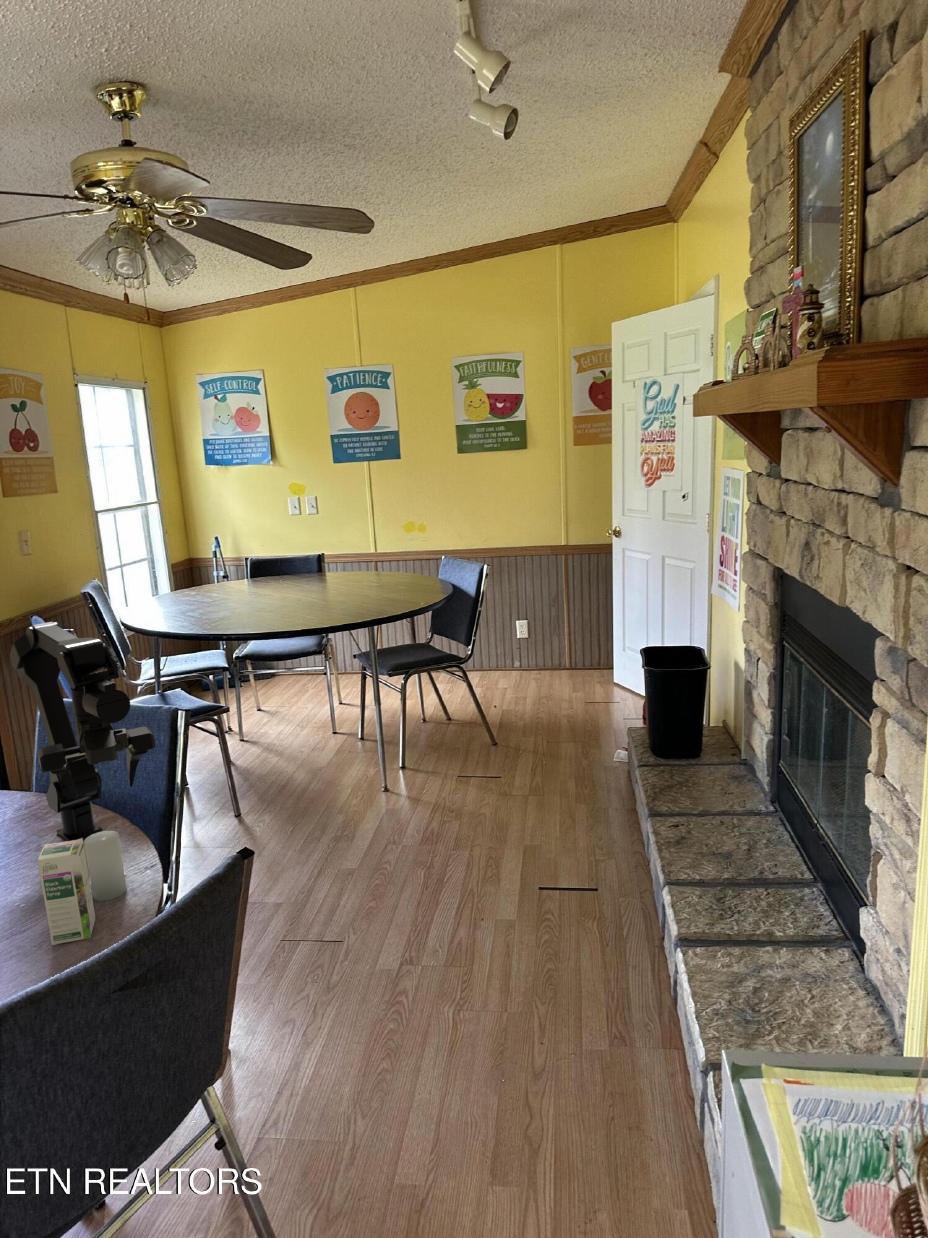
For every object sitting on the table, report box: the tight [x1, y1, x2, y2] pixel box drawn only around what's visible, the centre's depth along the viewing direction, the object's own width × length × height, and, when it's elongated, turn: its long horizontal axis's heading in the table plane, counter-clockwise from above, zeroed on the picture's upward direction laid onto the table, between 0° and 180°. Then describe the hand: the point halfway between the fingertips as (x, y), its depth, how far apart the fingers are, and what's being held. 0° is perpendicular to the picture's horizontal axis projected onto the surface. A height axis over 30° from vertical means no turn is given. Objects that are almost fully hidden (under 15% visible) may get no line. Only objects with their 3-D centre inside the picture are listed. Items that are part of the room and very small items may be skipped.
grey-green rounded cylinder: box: [83, 830, 128, 902], centre depth 142 cm, size 5×5×10 cm
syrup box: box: [37, 837, 96, 946], centre depth 130 cm, size 6×6×14 cm
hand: (104, 792), depth 152 cm, fingers open, 9 cm apart
